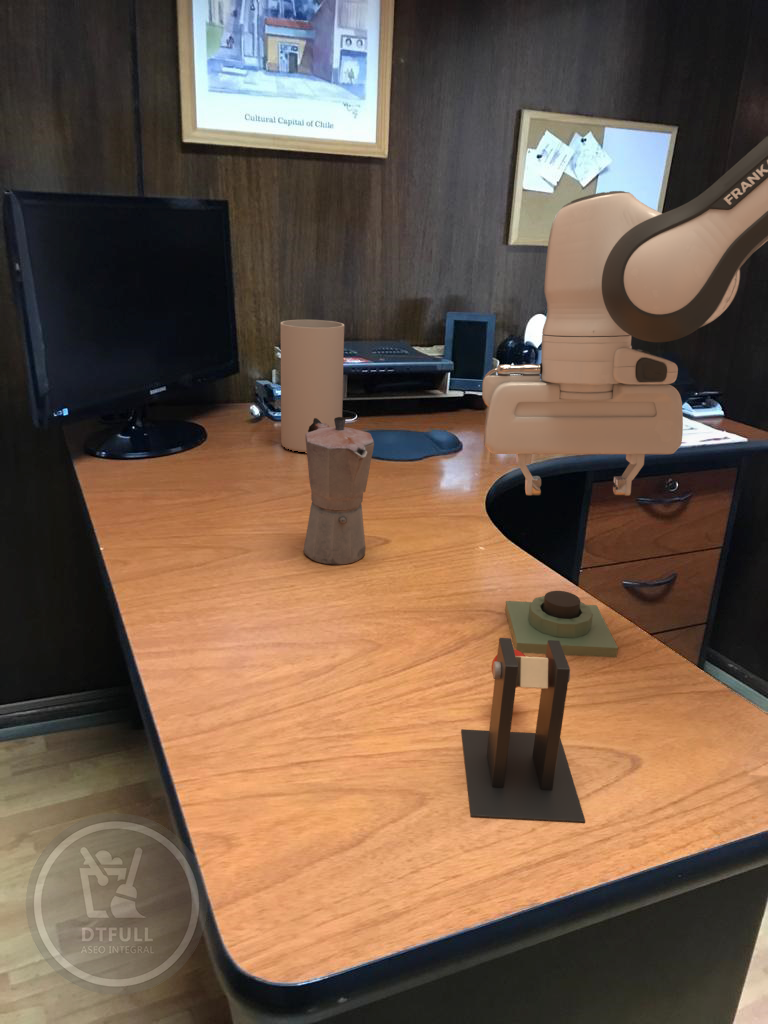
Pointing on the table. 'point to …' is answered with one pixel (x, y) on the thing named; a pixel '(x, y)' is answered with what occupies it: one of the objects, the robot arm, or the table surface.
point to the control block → (559, 630)
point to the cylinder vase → (310, 377)
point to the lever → (530, 671)
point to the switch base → (522, 750)
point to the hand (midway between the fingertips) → (576, 494)
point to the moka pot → (337, 491)
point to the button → (561, 604)
